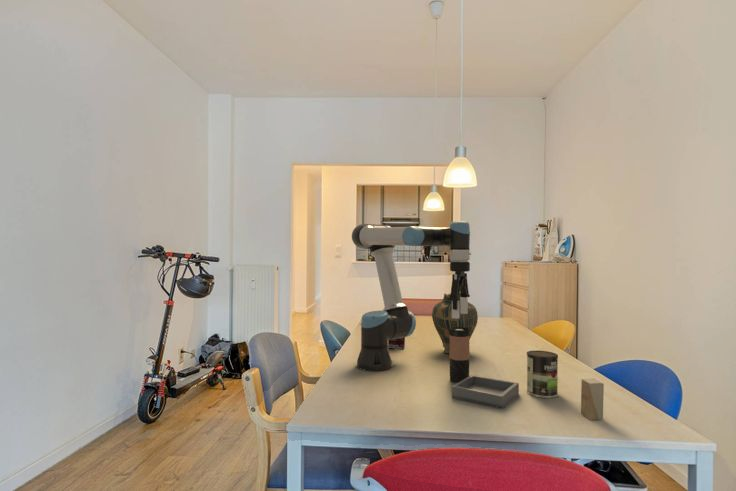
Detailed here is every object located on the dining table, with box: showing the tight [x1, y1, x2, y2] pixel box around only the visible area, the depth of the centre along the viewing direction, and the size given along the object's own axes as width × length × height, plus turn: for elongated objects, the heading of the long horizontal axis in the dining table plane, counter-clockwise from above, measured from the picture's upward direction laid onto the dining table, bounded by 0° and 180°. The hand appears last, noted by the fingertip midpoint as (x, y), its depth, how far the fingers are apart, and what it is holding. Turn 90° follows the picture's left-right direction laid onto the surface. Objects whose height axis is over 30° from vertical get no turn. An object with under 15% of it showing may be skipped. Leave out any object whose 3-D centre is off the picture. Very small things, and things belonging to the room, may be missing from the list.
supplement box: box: [388, 337, 406, 350], centre depth 225 cm, size 9×5×16 cm, turn 84°
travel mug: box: [448, 327, 471, 384], centre depth 170 cm, size 8×8×20 cm
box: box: [580, 378, 605, 421], centre depth 133 cm, size 5×4×11 cm
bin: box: [451, 374, 520, 410], centre depth 151 cm, size 17×17×4 cm
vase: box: [431, 293, 479, 354], centre depth 216 cm, size 22×22×30 cm
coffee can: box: [526, 350, 559, 399], centre depth 155 cm, size 10×10×14 cm
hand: (459, 316), depth 170 cm, fingers open, 13 cm apart
